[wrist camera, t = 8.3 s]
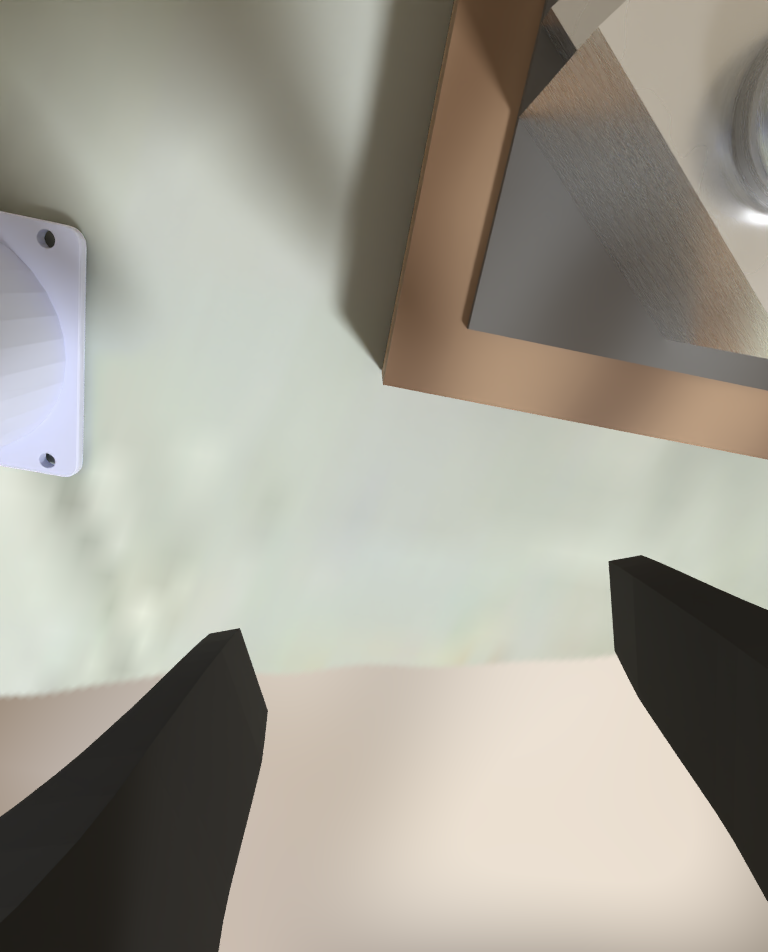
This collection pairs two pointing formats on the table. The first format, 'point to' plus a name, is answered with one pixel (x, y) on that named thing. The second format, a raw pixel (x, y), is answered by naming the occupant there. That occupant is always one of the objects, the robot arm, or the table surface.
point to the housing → (668, 154)
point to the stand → (539, 270)
